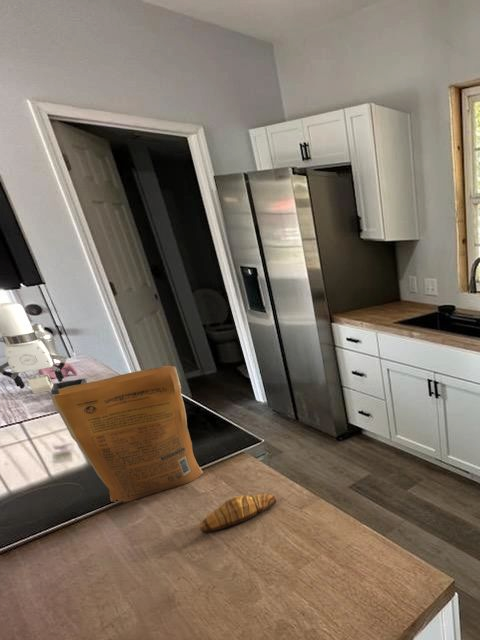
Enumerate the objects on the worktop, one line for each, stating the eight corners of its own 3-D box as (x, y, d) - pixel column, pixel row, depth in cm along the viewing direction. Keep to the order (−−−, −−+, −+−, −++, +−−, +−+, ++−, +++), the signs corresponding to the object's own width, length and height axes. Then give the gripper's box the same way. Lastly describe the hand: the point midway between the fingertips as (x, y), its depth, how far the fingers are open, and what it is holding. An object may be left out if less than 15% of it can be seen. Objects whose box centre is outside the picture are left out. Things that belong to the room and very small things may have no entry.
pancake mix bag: (212, 479, 97) (175, 367, 86) (102, 514, 85) (45, 390, 75) (208, 467, 101) (173, 359, 91) (103, 499, 90) (50, 380, 80)
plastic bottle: (44, 372, 169) (23, 324, 162) (68, 368, 173) (48, 322, 166) (43, 376, 165) (21, 327, 157) (67, 372, 169) (47, 324, 162)
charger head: (33, 393, 147) (26, 377, 145) (36, 389, 152) (28, 373, 149) (51, 390, 150) (44, 374, 148) (53, 386, 154) (46, 370, 152)
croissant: (205, 543, 77) (197, 522, 75) (198, 526, 81) (190, 505, 80) (282, 510, 86) (277, 490, 84) (272, 496, 90) (267, 477, 88)
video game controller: (78, 376, 168) (69, 361, 167) (79, 373, 165) (70, 357, 165) (43, 384, 160) (34, 368, 159) (44, 381, 157) (35, 364, 157)
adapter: (54, 398, 143) (50, 390, 142) (57, 391, 150) (54, 383, 148) (86, 392, 148) (83, 385, 147) (88, 385, 154) (85, 378, 153)
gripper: (-20, 346, 136) (4, 393, 142) (54, 336, 146) (74, 381, 153) (-15, 341, 141) (9, 387, 148) (57, 332, 152) (76, 375, 158)
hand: (42, 384), depth 150 cm, fingers open, 9 cm apart
